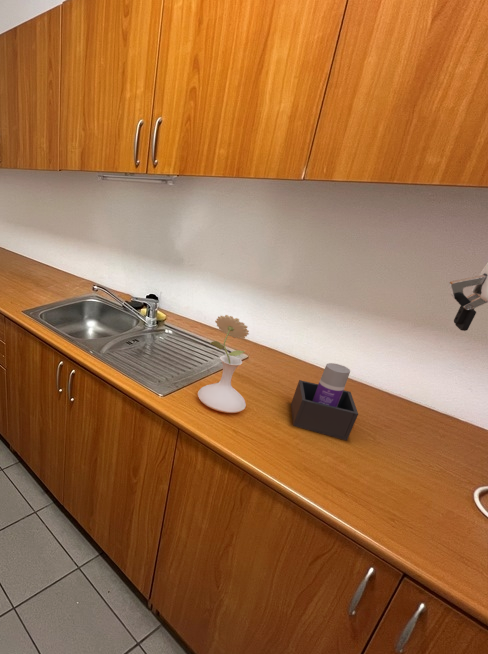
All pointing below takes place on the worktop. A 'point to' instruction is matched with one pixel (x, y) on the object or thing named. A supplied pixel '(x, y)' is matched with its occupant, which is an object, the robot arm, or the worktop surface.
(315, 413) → the bin
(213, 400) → the flower in vase
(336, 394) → the container
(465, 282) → the robot arm
